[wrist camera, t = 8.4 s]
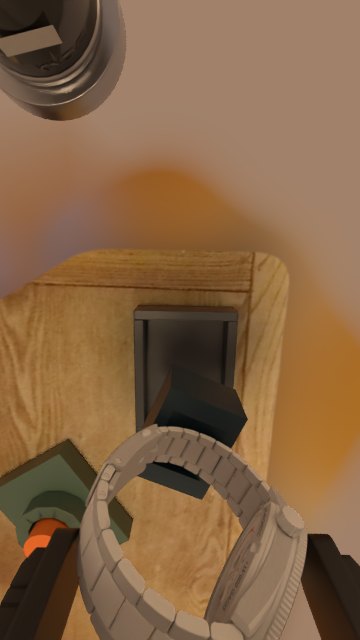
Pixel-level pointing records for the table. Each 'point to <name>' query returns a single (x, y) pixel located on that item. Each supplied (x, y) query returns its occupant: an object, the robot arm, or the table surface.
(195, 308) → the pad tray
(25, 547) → the button
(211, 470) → the watch
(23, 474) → the push button base
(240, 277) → the table surface
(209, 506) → the table surface
